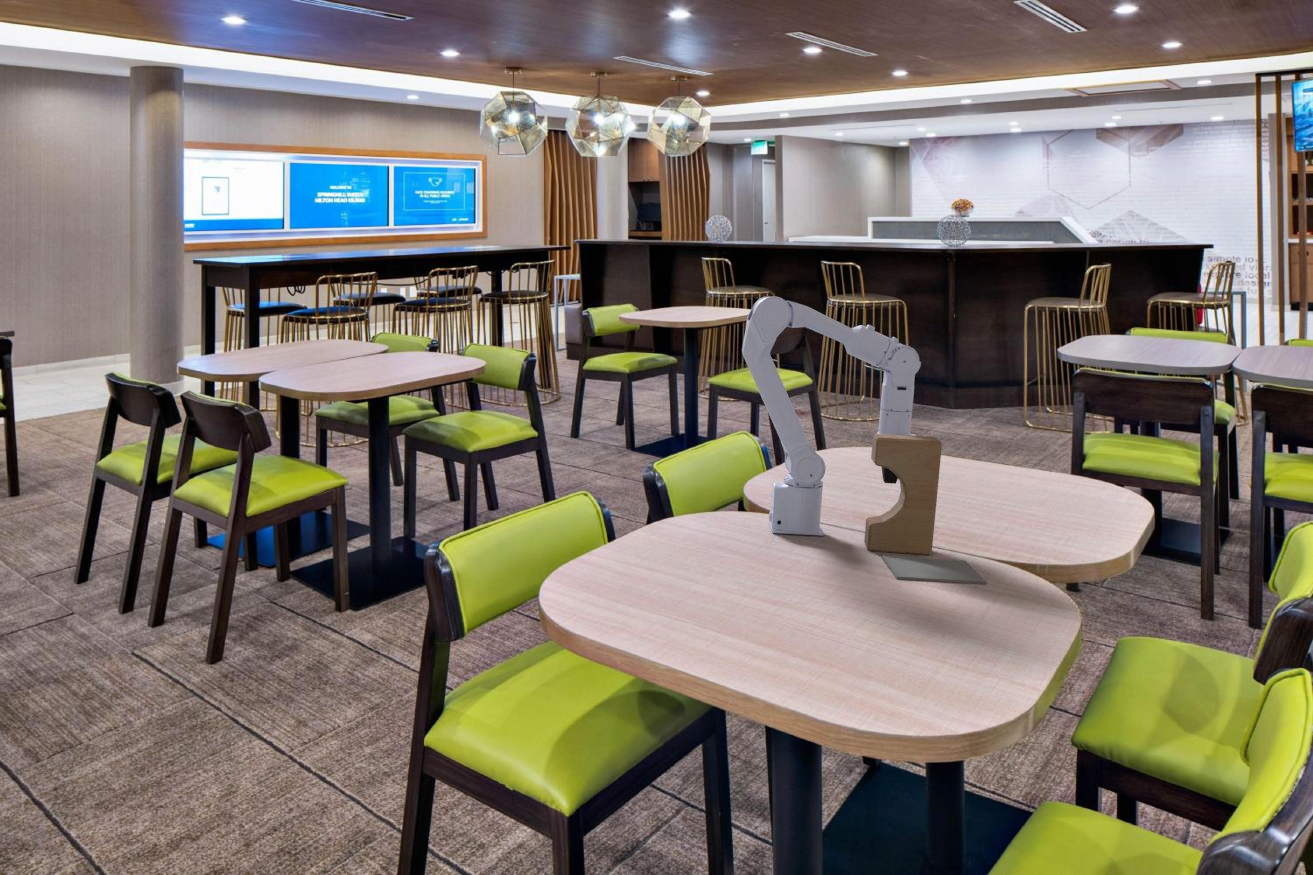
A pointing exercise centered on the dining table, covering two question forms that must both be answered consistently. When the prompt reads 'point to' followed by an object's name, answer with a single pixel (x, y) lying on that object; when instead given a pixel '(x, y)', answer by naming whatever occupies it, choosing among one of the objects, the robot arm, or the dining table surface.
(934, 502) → the decorative block
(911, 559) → the grey flat plate
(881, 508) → the dining table surface
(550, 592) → the dining table surface
